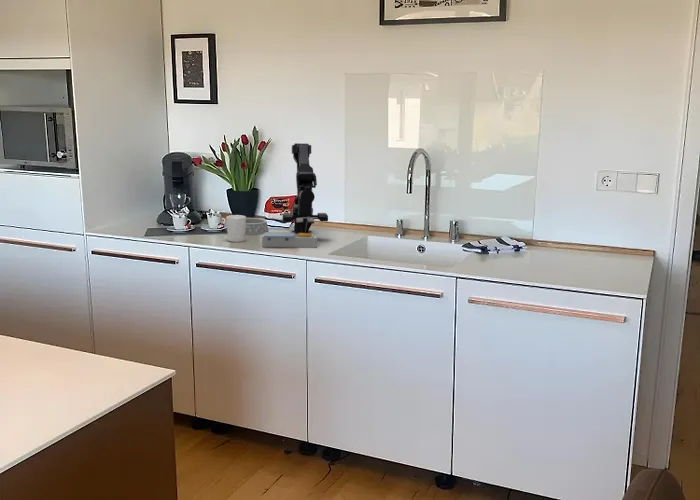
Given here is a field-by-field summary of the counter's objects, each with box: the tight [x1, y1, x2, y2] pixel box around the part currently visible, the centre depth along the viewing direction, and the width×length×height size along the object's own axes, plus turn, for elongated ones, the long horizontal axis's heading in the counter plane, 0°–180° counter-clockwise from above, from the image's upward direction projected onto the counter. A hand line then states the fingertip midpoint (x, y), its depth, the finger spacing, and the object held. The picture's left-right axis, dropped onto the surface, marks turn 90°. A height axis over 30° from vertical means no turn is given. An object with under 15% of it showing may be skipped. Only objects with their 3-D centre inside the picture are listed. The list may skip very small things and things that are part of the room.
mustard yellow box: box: [297, 232, 312, 237], centre depth 299 cm, size 4×5×4 cm
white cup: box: [225, 214, 247, 243], centre depth 298 cm, size 8×8×10 cm
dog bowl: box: [245, 217, 270, 236], centre depth 319 cm, size 17×18×5 cm
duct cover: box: [264, 231, 296, 238], centre depth 289 cm, size 9×12×1 cm
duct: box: [261, 233, 317, 249], centre depth 291 cm, size 8×22×4 cm, turn 93°
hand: (304, 237), depth 303 cm, fingers closed
